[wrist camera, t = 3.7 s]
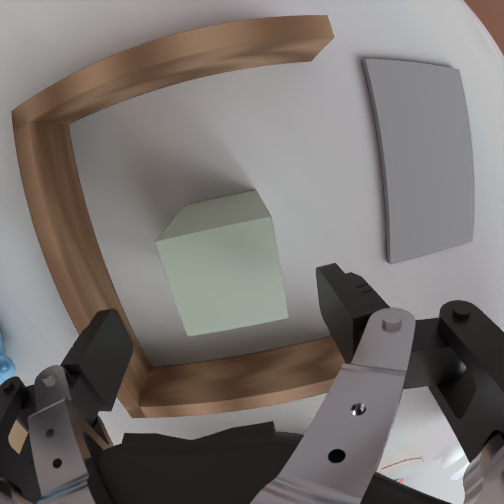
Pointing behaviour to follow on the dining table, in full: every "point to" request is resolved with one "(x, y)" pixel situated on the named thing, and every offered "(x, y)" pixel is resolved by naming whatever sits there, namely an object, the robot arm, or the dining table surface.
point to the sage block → (223, 264)
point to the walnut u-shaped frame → (82, 234)
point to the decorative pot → (5, 363)
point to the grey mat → (422, 156)
